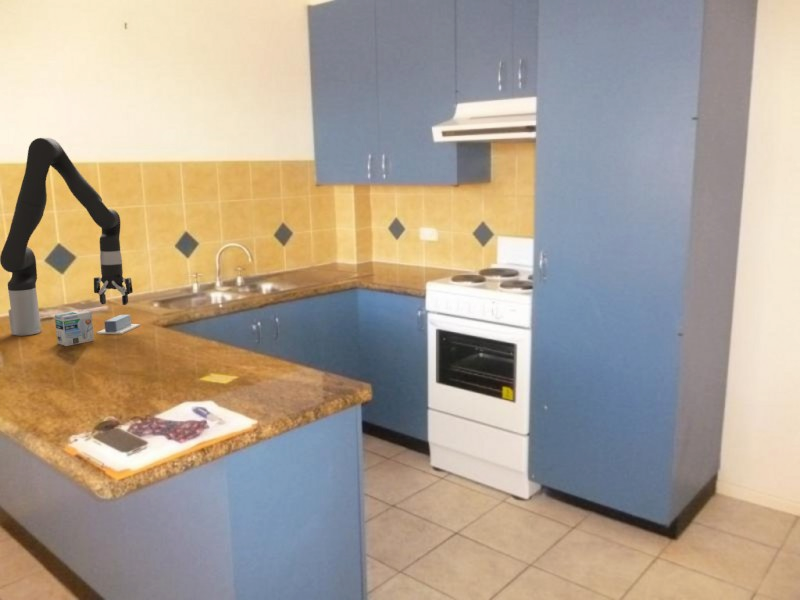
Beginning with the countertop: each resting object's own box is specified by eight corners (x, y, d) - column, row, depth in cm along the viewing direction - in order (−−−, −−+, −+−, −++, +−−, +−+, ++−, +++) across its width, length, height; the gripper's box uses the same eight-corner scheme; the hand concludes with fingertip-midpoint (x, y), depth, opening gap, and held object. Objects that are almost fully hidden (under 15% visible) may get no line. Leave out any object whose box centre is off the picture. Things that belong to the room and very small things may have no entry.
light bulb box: (66, 346, 236) (62, 316, 234) (56, 343, 240) (53, 314, 238) (95, 340, 245) (92, 311, 243) (85, 337, 249) (82, 309, 247)
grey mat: (96, 333, 254) (96, 332, 254) (116, 325, 268) (115, 323, 268) (122, 334, 253) (121, 332, 253) (140, 325, 267) (139, 324, 267)
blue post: (121, 324, 266) (105, 331, 255) (120, 314, 266) (104, 321, 254) (131, 324, 266) (115, 331, 254) (130, 314, 265) (114, 321, 254)
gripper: (87, 263, 251) (91, 305, 255) (124, 264, 250) (127, 306, 253) (98, 260, 259) (101, 302, 262) (134, 261, 257) (136, 303, 261)
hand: (114, 304), depth 258 cm, fingers open, 8 cm apart
